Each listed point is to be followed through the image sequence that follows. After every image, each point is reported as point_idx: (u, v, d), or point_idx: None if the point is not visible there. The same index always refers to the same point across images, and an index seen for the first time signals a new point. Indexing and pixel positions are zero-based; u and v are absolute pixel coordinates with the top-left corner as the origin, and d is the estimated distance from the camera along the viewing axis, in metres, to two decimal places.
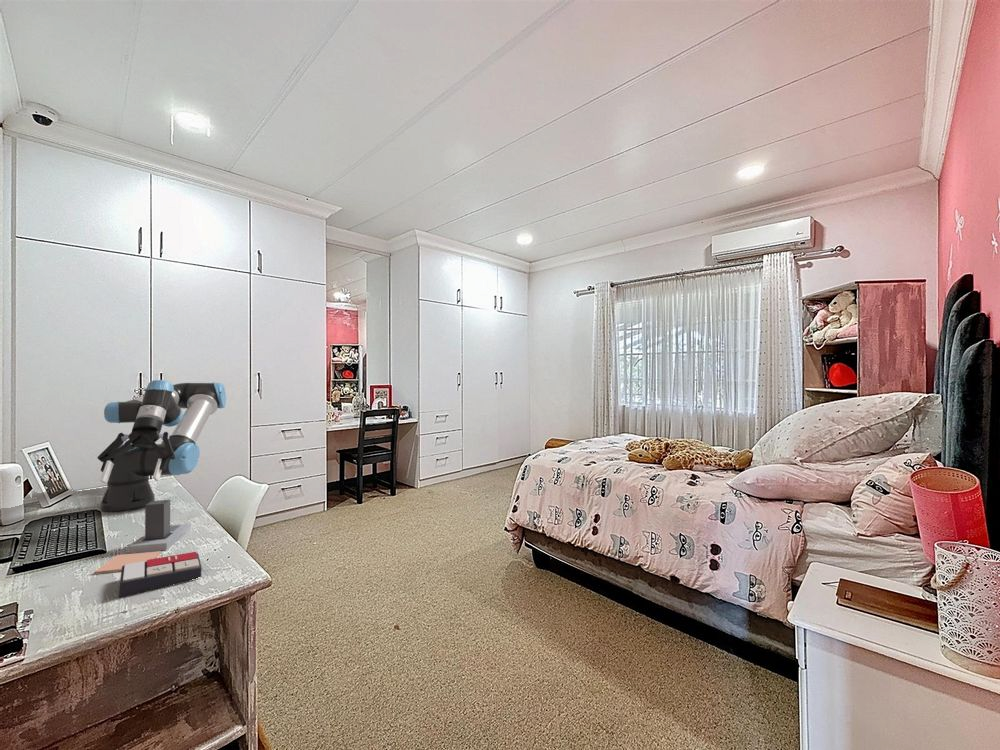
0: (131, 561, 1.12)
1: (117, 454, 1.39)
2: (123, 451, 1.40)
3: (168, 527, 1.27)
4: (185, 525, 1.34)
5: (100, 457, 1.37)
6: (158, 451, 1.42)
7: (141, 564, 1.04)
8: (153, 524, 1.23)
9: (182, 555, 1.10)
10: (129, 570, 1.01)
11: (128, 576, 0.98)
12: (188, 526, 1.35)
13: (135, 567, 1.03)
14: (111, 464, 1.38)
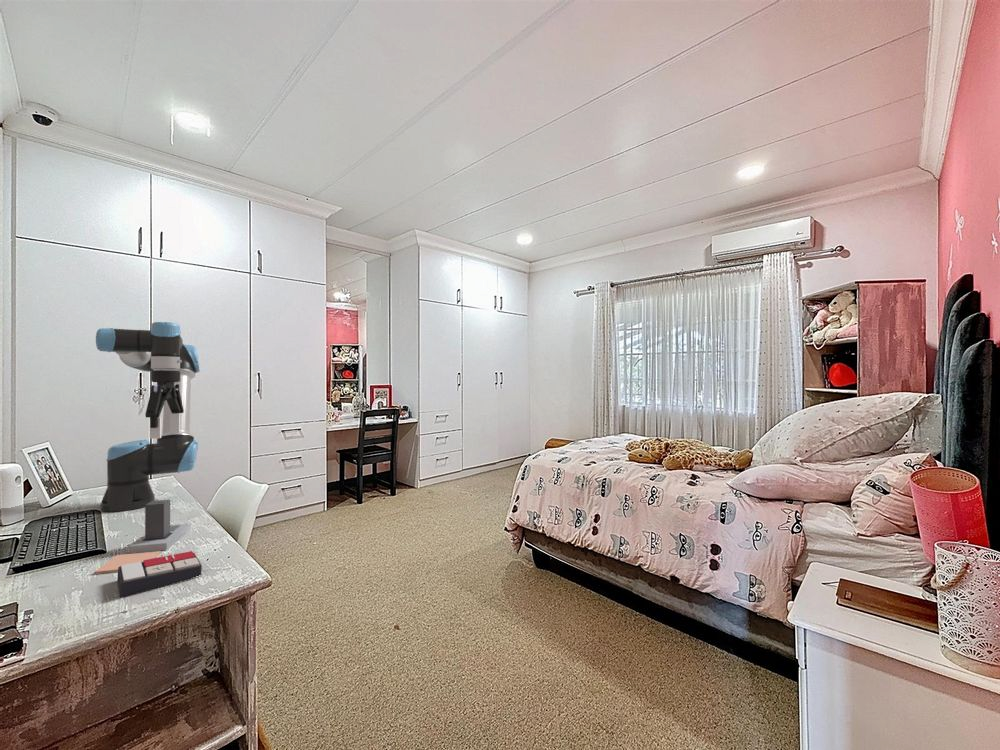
0: (131, 561, 1.12)
1: None
2: None
3: (168, 527, 1.27)
4: (185, 525, 1.34)
5: (156, 413, 1.32)
6: (177, 406, 1.47)
7: (138, 564, 1.04)
8: (153, 525, 1.23)
9: (179, 555, 1.10)
10: (127, 570, 1.01)
11: (128, 576, 0.98)
12: (188, 526, 1.35)
13: (133, 567, 1.02)
14: None
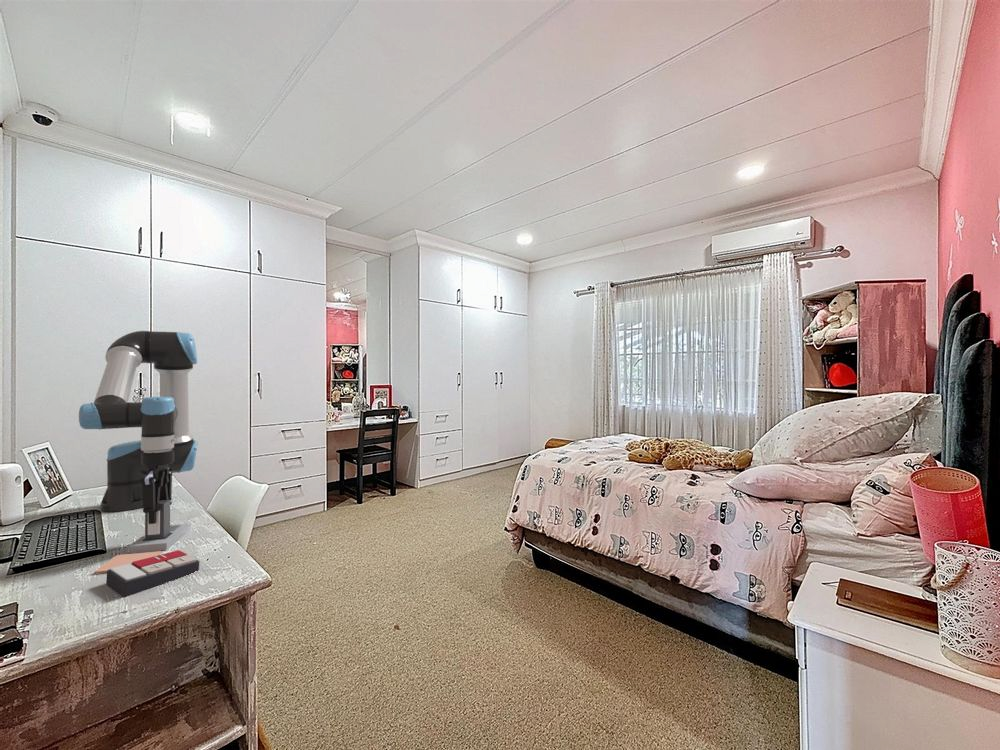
0: (131, 561, 1.12)
1: None
2: None
3: (168, 527, 1.27)
4: (185, 525, 1.34)
5: (155, 508, 1.21)
6: (166, 494, 1.28)
7: (129, 566, 1.03)
8: None
9: (168, 554, 1.11)
10: (123, 572, 1.00)
11: (128, 576, 0.98)
12: (188, 526, 1.35)
13: (126, 569, 1.02)
14: None
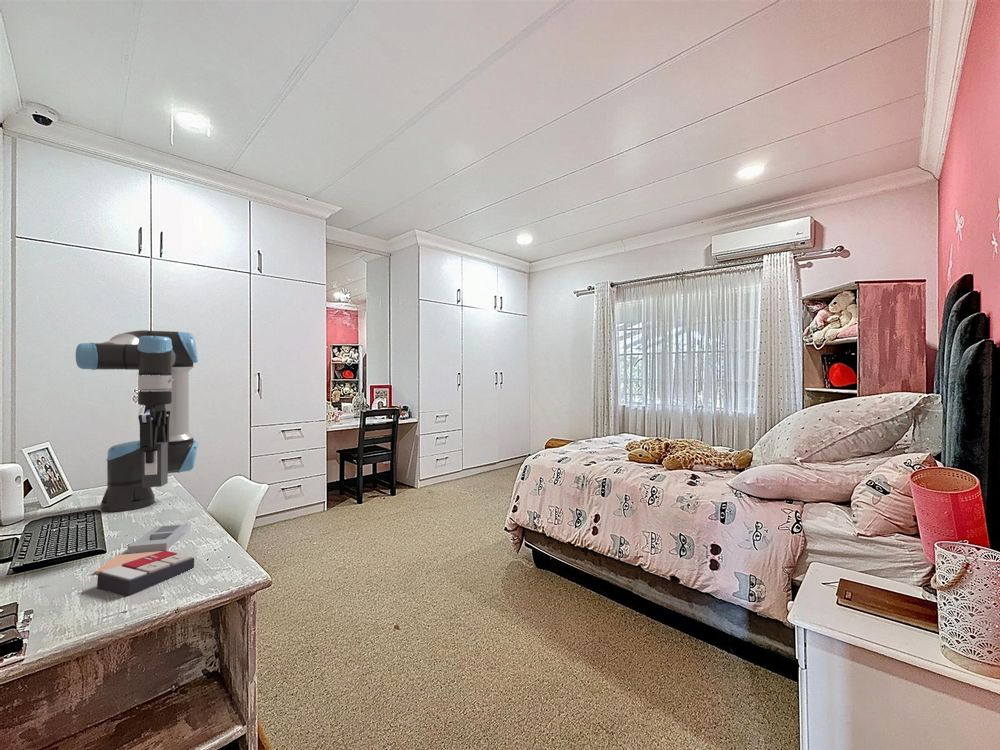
0: None
1: None
2: None
3: (166, 470, 1.25)
4: (185, 525, 1.34)
5: (152, 447, 1.19)
6: (164, 436, 1.26)
7: (121, 568, 1.02)
8: None
9: (156, 554, 1.10)
10: (119, 573, 0.99)
11: (128, 576, 0.98)
12: (188, 526, 1.35)
13: (120, 570, 1.01)
14: None
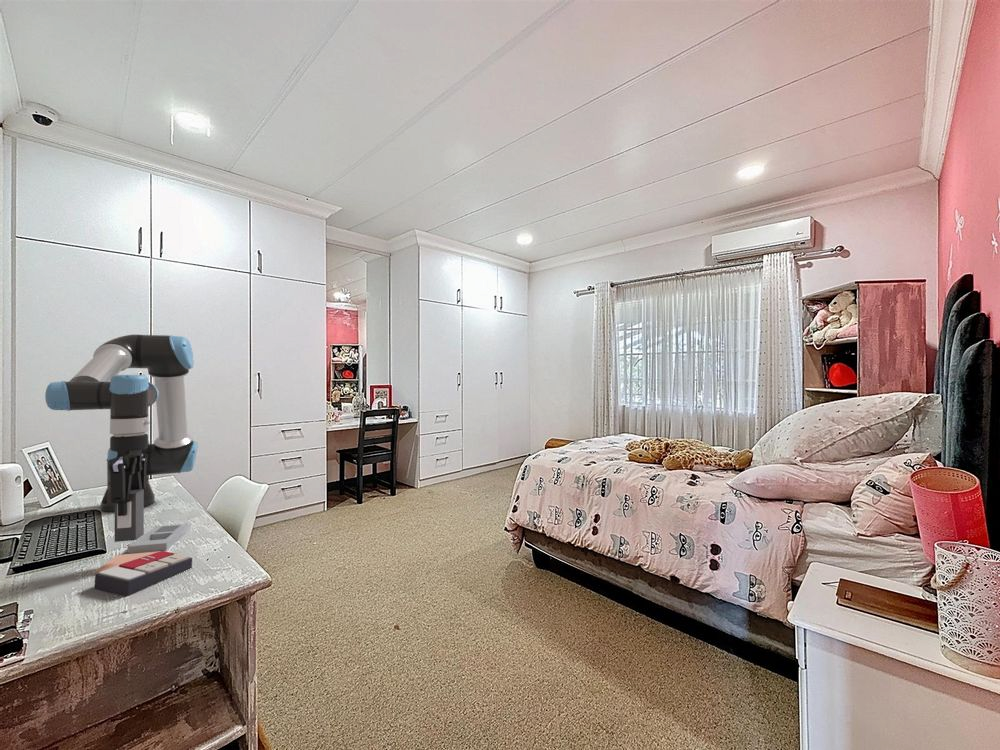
0: None
1: None
2: None
3: (141, 520, 1.14)
4: (185, 525, 1.34)
5: (125, 499, 1.08)
6: (139, 483, 1.15)
7: (119, 568, 1.02)
8: None
9: (153, 555, 1.10)
10: (117, 573, 0.99)
11: (126, 576, 0.98)
12: (188, 526, 1.35)
13: (118, 571, 1.01)
14: None
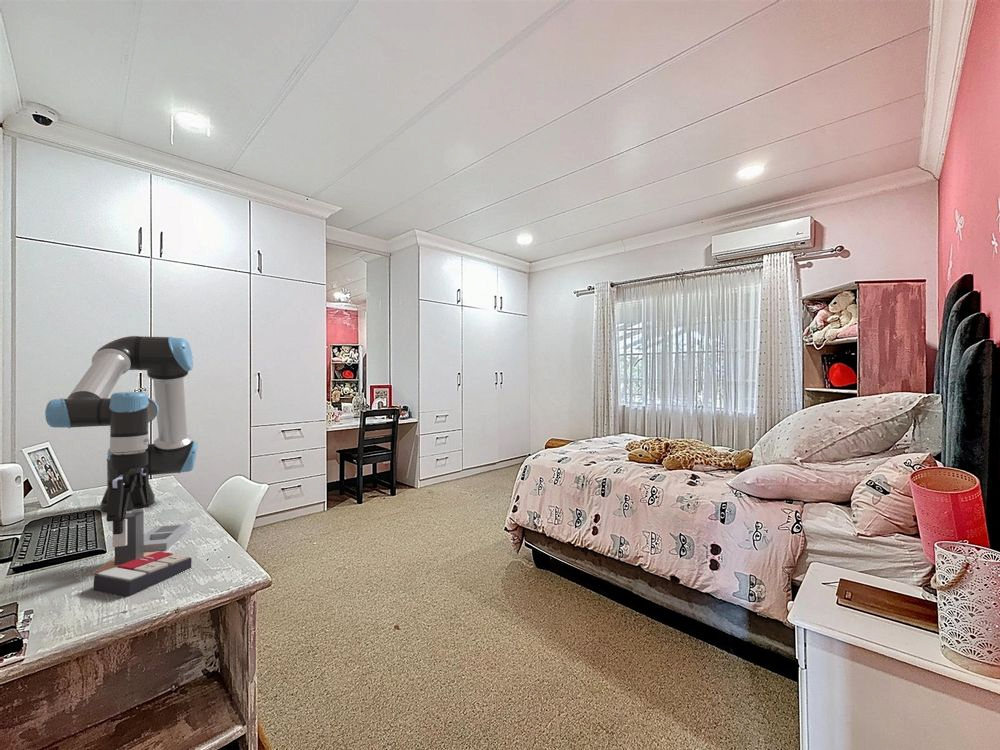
0: None
1: None
2: None
3: (141, 543, 1.14)
4: (185, 525, 1.34)
5: (120, 517, 1.06)
6: (142, 497, 1.17)
7: (118, 569, 1.02)
8: None
9: (152, 555, 1.10)
10: (117, 574, 0.99)
11: (127, 576, 0.98)
12: (188, 526, 1.35)
13: (118, 571, 1.00)
14: None
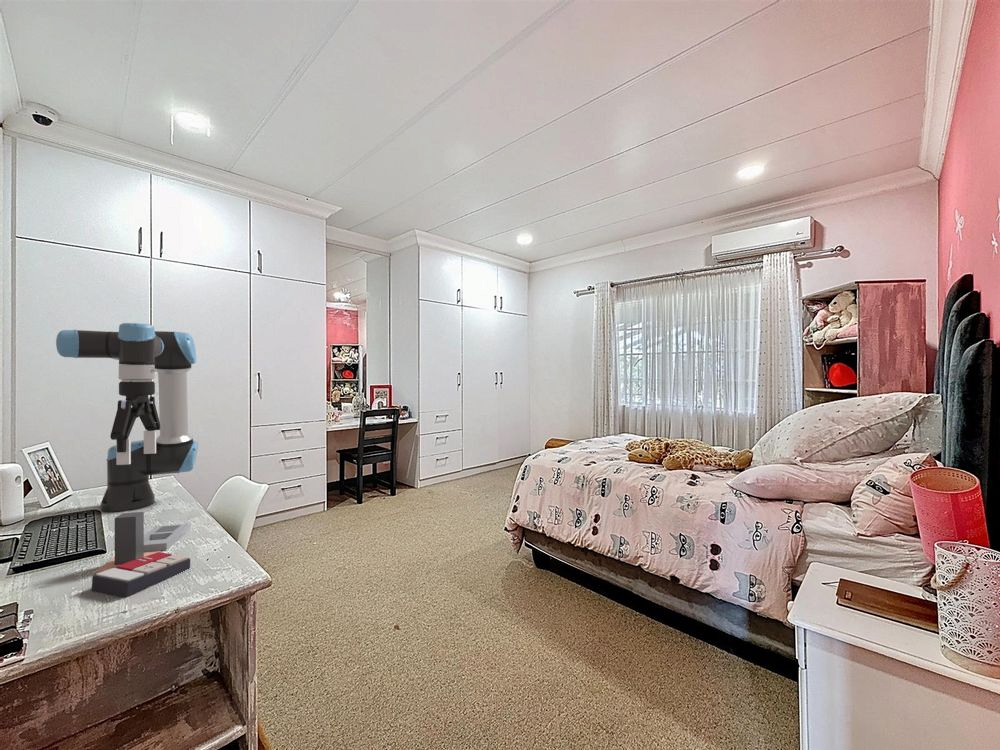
0: None
1: None
2: None
3: (141, 543, 1.14)
4: (185, 525, 1.34)
5: (123, 435, 1.09)
6: (152, 422, 1.24)
7: (116, 570, 1.01)
8: (124, 540, 1.11)
9: (150, 556, 1.09)
10: (115, 574, 0.99)
11: (125, 577, 0.98)
12: (188, 526, 1.35)
13: (116, 572, 1.00)
14: None
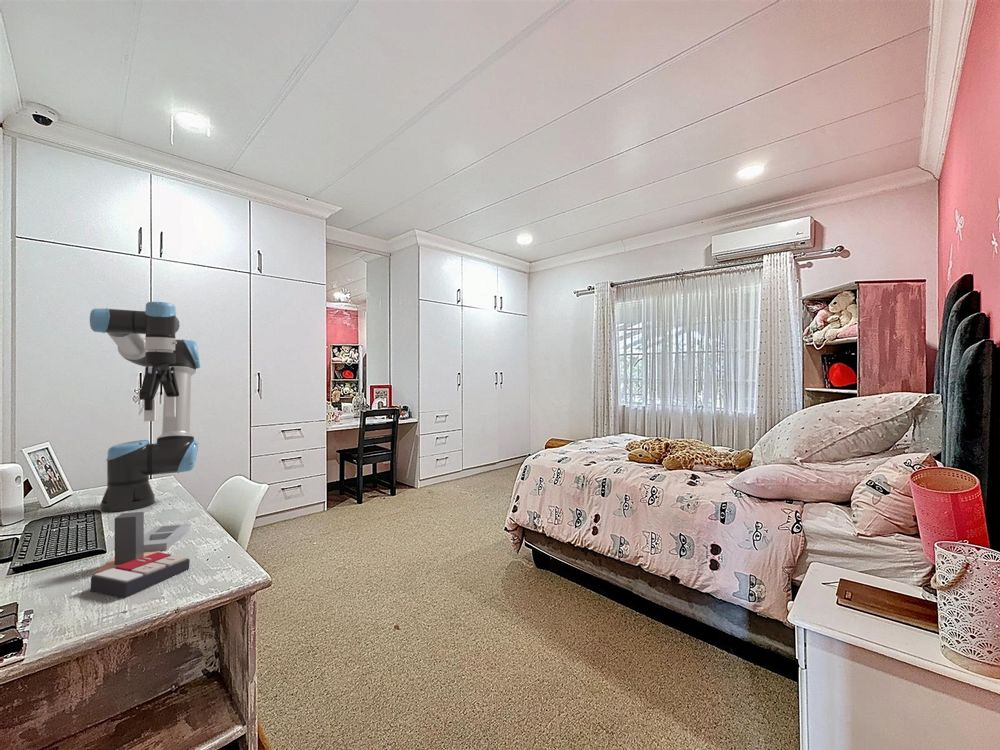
0: None
1: None
2: None
3: (141, 543, 1.14)
4: (185, 525, 1.34)
5: (150, 395, 1.29)
6: (173, 389, 1.43)
7: (115, 570, 1.01)
8: (124, 540, 1.11)
9: (150, 556, 1.09)
10: (114, 575, 0.98)
11: (124, 578, 0.97)
12: (188, 526, 1.35)
13: (115, 572, 1.00)
14: None
